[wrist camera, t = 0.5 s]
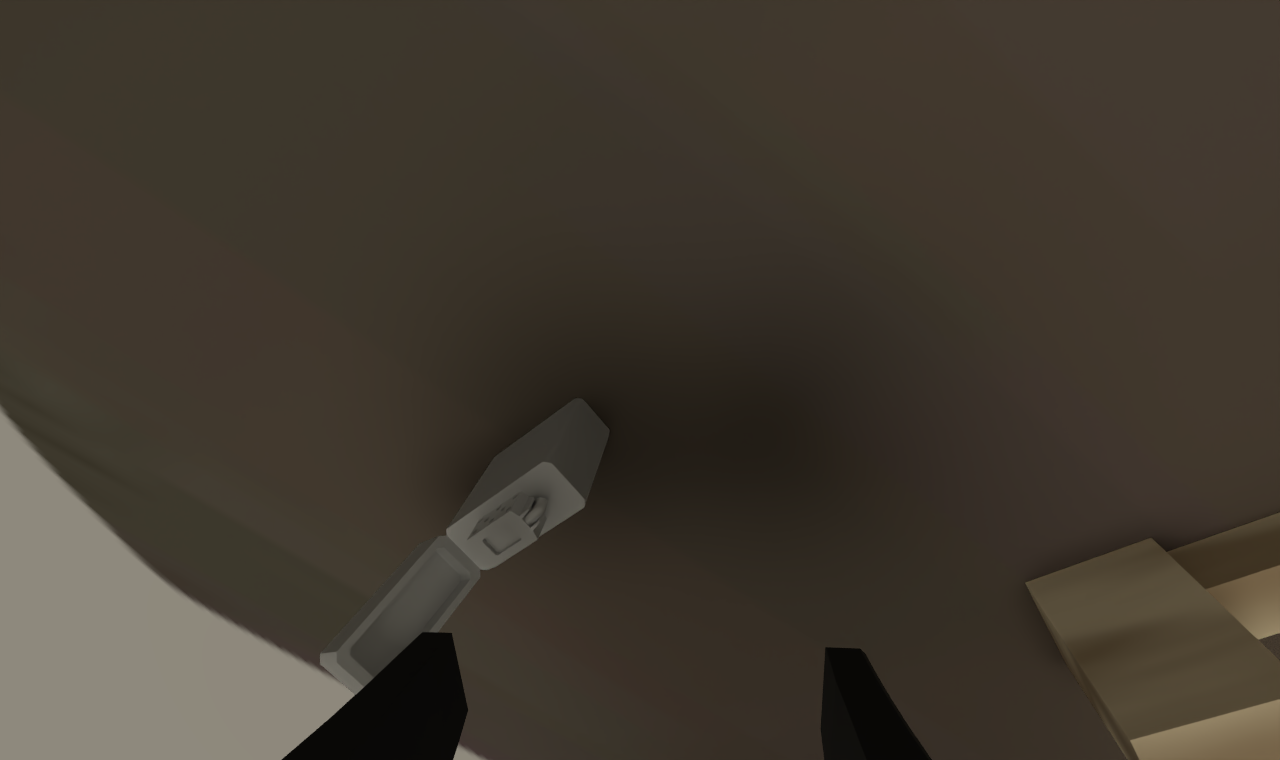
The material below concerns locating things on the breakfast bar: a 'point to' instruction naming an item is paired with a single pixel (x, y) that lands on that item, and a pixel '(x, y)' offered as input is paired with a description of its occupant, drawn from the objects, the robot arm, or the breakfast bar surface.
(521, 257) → the breakfast bar surface
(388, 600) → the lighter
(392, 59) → the breakfast bar surface
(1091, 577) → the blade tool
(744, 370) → the breakfast bar surface
